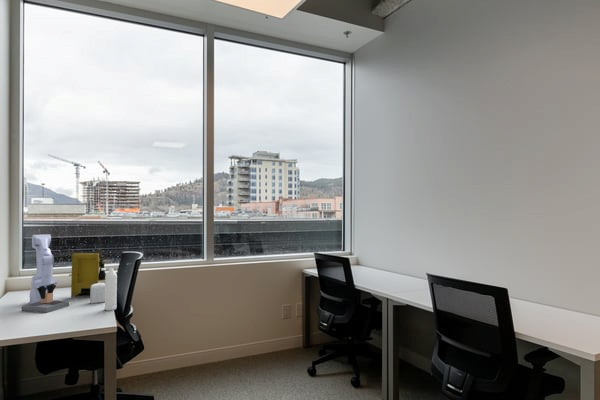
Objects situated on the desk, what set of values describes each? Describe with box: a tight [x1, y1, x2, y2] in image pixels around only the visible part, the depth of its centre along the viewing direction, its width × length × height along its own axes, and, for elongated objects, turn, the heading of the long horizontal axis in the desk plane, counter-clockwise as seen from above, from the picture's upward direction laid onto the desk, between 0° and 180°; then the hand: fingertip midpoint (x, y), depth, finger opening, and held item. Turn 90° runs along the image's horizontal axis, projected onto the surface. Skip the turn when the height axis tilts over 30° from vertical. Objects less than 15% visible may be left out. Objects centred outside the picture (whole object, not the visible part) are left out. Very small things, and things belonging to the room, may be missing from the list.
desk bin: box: [21, 299, 70, 314], centre depth 227 cm, size 18×16×3 cm
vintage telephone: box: [68, 253, 109, 298], centre depth 265 cm, size 31×14×30 cm, turn 92°
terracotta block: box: [40, 292, 54, 303], centre depth 227 cm, size 5×4×5 cm
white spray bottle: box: [101, 267, 118, 311], centre depth 226 cm, size 9×6×25 cm
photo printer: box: [89, 282, 105, 304], centre depth 243 cm, size 10×4×12 cm, turn 123°
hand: (46, 297), depth 227 cm, fingers closed on terracotta block, 4 cm apart
